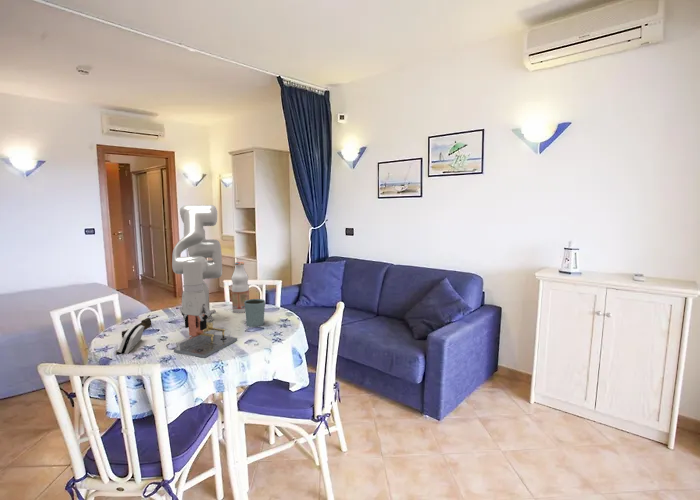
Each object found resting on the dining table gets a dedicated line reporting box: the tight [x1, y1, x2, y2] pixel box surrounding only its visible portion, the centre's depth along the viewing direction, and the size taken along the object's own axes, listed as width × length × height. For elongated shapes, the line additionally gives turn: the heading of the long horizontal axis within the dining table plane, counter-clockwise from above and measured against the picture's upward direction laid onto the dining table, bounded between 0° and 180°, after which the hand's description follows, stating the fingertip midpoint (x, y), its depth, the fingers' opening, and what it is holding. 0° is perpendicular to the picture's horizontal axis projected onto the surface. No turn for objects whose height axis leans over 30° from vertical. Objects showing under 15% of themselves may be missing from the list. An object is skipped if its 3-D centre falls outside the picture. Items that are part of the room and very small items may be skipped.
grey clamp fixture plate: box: [173, 322, 238, 359], centre depth 157 cm, size 20×16×7 cm
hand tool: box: [121, 317, 152, 338], centre depth 176 cm, size 19×4×5 cm, turn 173°
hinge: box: [114, 323, 145, 355], centre depth 157 cm, size 17×5×10 cm, turn 13°
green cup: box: [244, 298, 266, 328], centre depth 186 cm, size 10×10×12 cm
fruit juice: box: [231, 261, 250, 314], centre depth 209 cm, size 9×9×28 cm
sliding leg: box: [188, 315, 214, 344], centre depth 158 cm, size 4×11×12 cm, turn 69°
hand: (195, 327), depth 159 cm, fingers open, 7 cm apart
